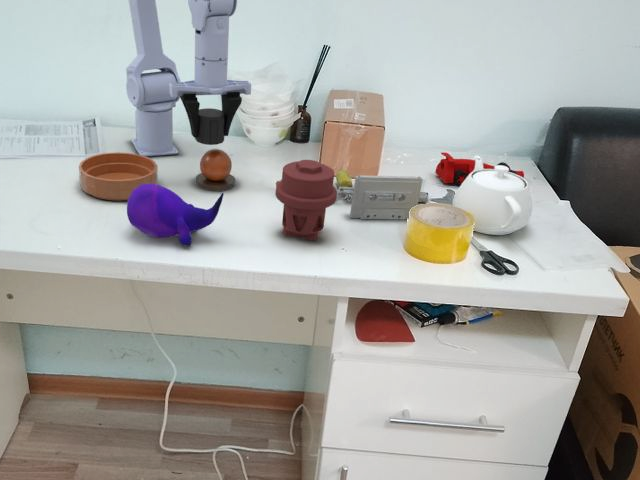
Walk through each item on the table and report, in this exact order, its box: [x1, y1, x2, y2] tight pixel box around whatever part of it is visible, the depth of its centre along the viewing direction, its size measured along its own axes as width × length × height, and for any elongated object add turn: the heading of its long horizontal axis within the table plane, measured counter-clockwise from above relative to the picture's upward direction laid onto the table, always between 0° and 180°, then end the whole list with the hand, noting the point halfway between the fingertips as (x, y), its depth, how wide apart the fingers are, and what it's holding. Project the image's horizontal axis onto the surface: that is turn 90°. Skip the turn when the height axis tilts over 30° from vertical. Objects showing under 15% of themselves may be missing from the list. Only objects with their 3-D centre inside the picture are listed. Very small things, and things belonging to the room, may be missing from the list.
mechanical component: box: [275, 159, 338, 242], centre depth 118 cm, size 12×10×10 cm
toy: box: [126, 184, 225, 247], centre depth 116 cm, size 9×10×15 cm
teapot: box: [451, 155, 533, 236], centre depth 127 cm, size 22×14×11 cm, turn 5°
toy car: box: [434, 151, 525, 187], centre depth 146 cm, size 6×18×5 cm, turn 99°
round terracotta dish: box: [78, 151, 159, 202], centre depth 132 cm, size 14×14×4 cm
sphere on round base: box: [194, 148, 236, 192], centre depth 136 cm, size 8×8×7 cm
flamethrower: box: [275, 169, 429, 203], centre depth 137 cm, size 29×3×10 cm
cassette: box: [349, 175, 424, 220], centre depth 127 cm, size 12×2×8 cm, turn 96°
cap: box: [194, 107, 225, 146], centre depth 131 cm, size 5×5×5 cm
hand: (209, 135), depth 132 cm, fingers closed on cap, 5 cm apart
